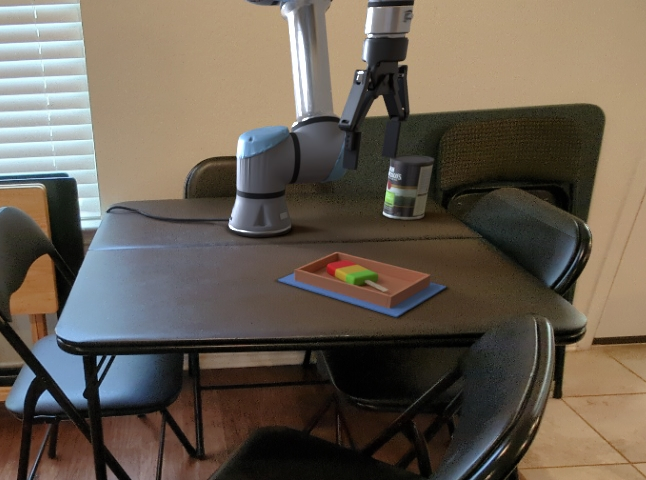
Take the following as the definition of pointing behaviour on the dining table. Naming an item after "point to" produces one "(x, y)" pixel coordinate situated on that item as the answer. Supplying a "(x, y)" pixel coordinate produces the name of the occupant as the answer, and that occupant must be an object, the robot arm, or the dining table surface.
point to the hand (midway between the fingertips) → (369, 162)
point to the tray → (389, 277)
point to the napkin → (393, 311)
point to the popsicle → (353, 274)
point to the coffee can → (408, 186)
